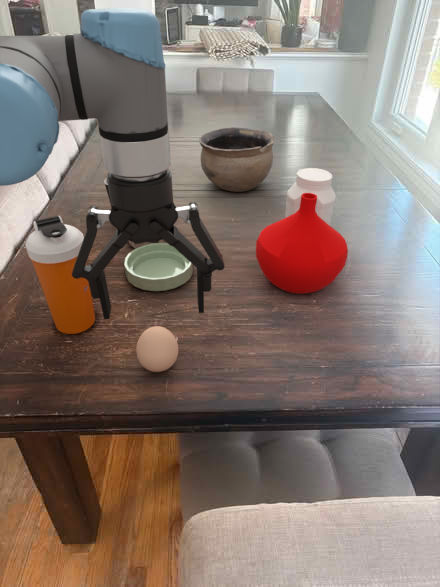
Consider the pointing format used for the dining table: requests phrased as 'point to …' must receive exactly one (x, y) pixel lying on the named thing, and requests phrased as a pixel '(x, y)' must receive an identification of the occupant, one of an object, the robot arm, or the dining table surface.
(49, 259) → the shaker bottle
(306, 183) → the jar
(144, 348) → the egg
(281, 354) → the dining table surface
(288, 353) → the dining table surface
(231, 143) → the ceramic bowl
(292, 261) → the vase
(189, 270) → the dish
